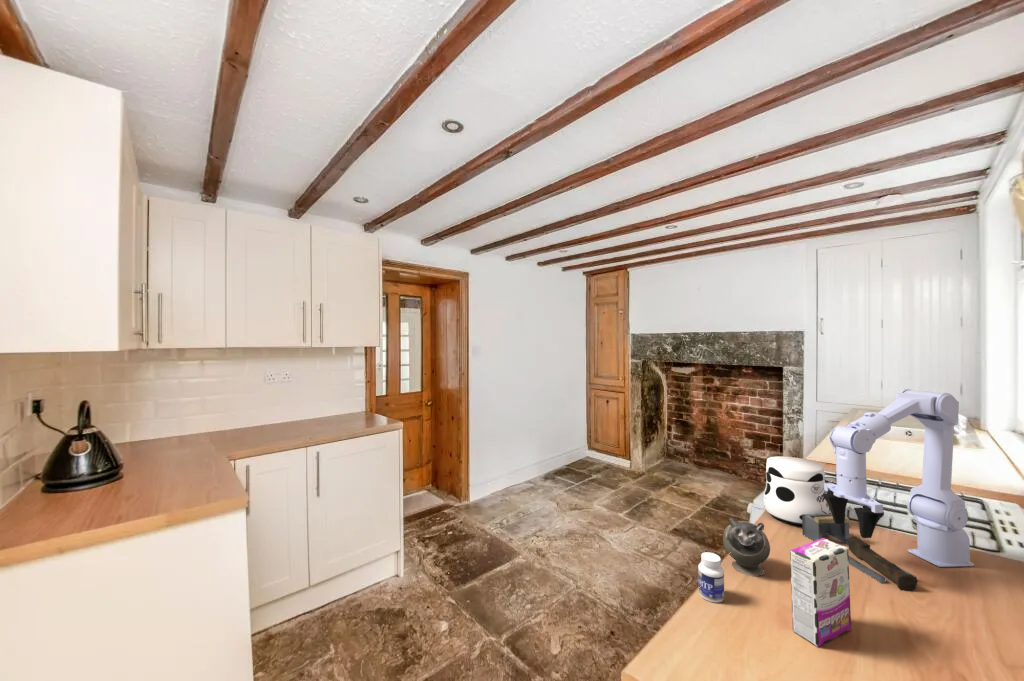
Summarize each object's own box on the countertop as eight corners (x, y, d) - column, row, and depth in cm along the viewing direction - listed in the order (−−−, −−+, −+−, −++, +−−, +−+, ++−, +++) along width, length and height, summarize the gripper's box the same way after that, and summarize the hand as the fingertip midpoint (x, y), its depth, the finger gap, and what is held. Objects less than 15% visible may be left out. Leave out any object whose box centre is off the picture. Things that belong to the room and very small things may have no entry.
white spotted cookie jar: (844, 531, 120) (843, 471, 121) (786, 531, 121) (785, 471, 121) (803, 507, 138) (802, 455, 138) (752, 507, 138) (751, 455, 138)
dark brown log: (919, 593, 91) (918, 572, 91) (899, 591, 92) (898, 571, 92) (860, 550, 110) (860, 533, 110) (844, 549, 110) (843, 532, 110)
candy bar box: (823, 615, 84) (822, 536, 84) (852, 630, 79) (850, 547, 79) (789, 631, 79) (788, 548, 79) (817, 648, 75) (816, 560, 75)
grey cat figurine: (731, 578, 97) (778, 582, 95) (729, 529, 98) (776, 531, 95) (719, 556, 107) (761, 559, 105) (717, 512, 107) (759, 513, 105)
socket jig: (831, 533, 119) (831, 509, 119) (916, 581, 95) (916, 551, 95) (802, 534, 118) (802, 510, 118) (880, 583, 94) (880, 552, 95)
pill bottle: (693, 592, 92) (692, 553, 92) (709, 586, 94) (709, 548, 94) (713, 606, 87) (712, 565, 87) (729, 599, 89) (729, 559, 89)
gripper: (812, 466, 107) (813, 517, 107) (862, 486, 93) (863, 545, 92) (838, 466, 107) (839, 516, 107) (891, 485, 93) (892, 544, 93)
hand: (852, 529), depth 100 cm, fingers open, 7 cm apart
